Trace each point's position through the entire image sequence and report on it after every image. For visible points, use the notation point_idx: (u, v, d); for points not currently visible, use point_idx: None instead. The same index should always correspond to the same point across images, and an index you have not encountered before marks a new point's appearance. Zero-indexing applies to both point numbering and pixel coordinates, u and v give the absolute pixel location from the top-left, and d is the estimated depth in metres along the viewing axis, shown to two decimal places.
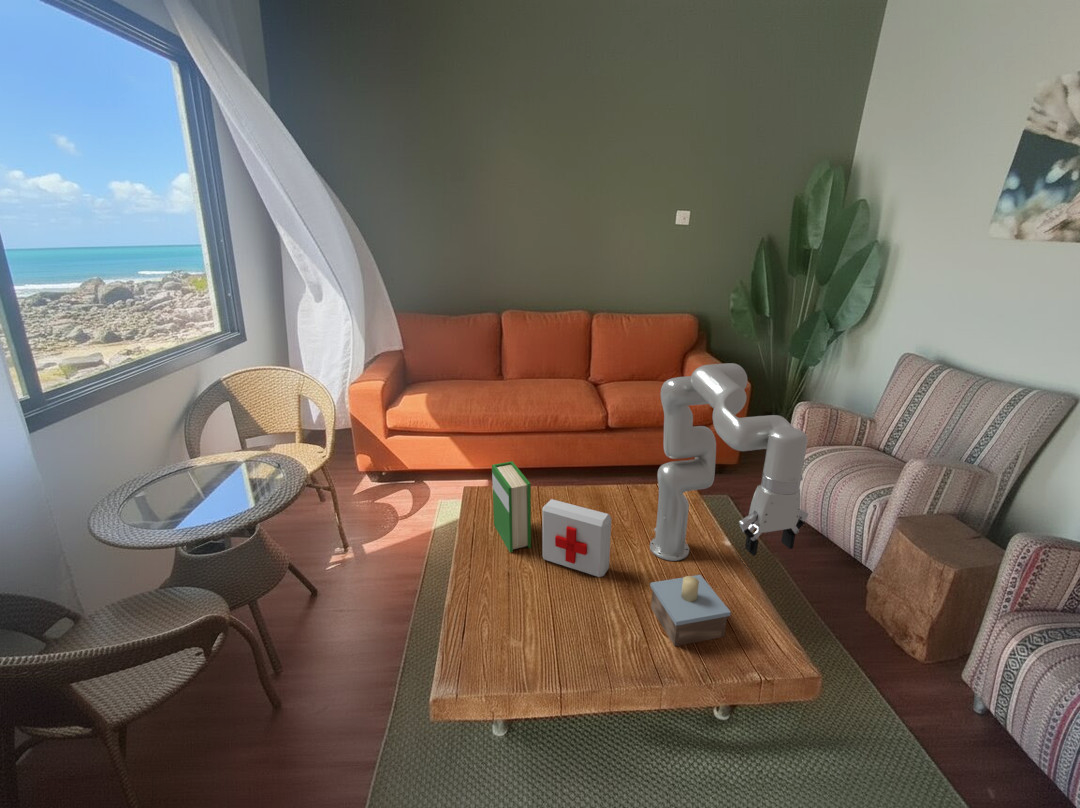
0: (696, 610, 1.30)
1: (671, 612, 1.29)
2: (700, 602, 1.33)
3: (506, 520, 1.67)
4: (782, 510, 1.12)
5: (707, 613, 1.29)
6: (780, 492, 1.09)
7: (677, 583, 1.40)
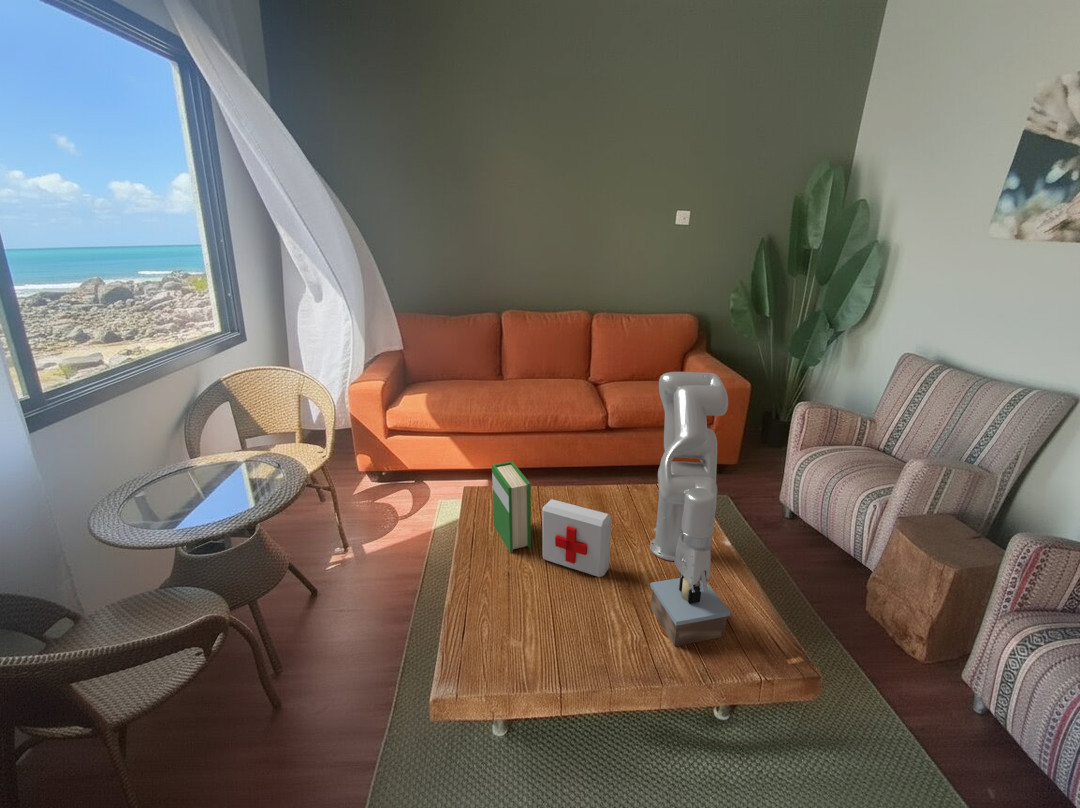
0: (696, 610, 1.30)
1: (671, 612, 1.29)
2: (700, 602, 1.33)
3: (506, 520, 1.67)
4: None
5: (707, 613, 1.29)
6: (711, 541, 1.27)
7: (677, 583, 1.40)
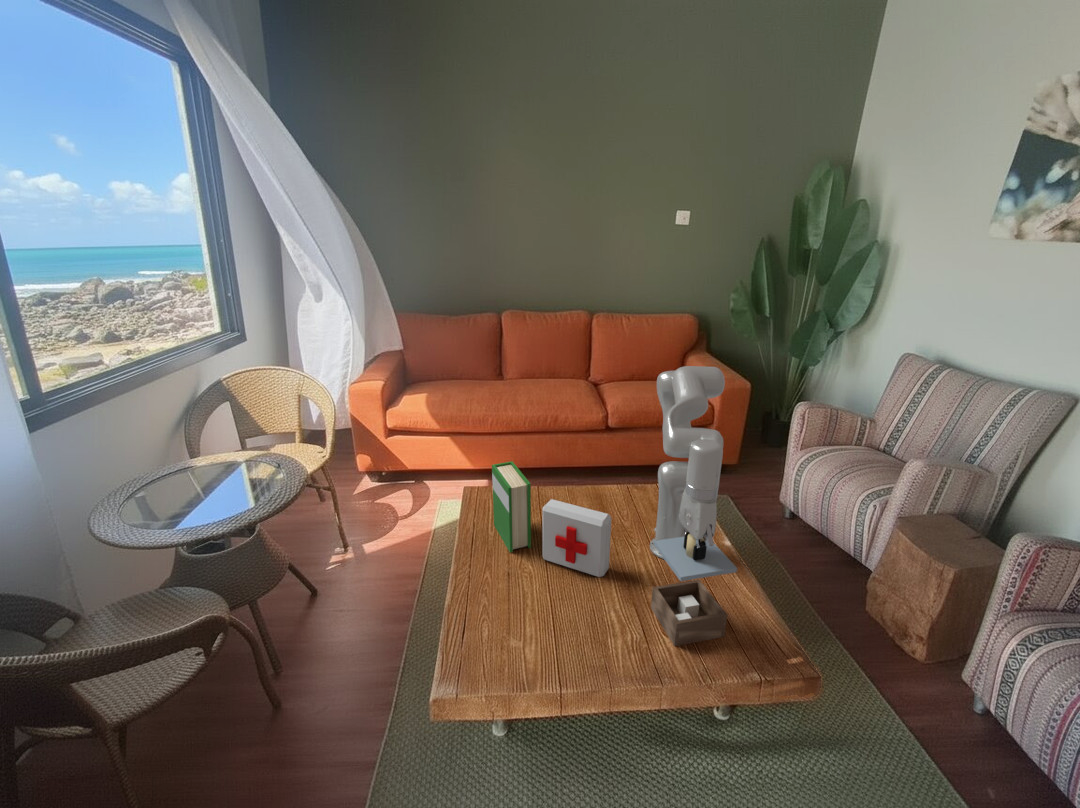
0: (702, 567, 1.26)
1: (675, 568, 1.25)
2: (706, 559, 1.29)
3: (506, 520, 1.67)
4: None
5: (713, 569, 1.25)
6: (717, 494, 1.23)
7: (681, 541, 1.36)
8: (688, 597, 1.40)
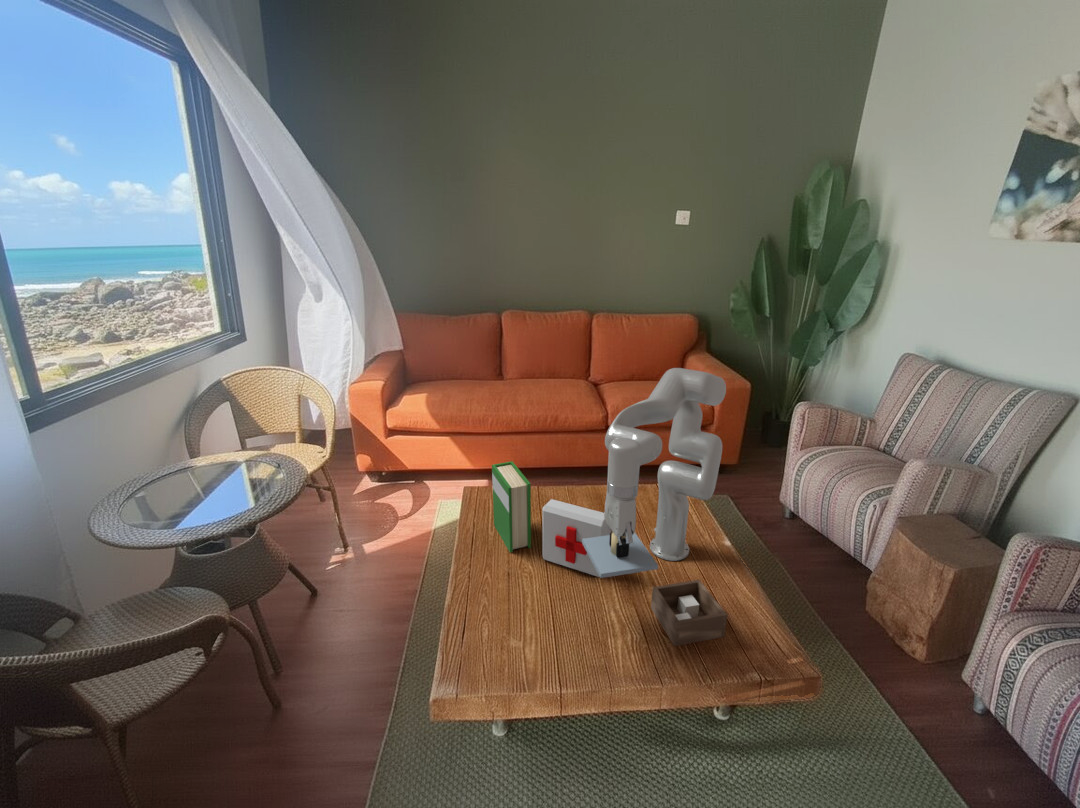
0: (623, 564, 1.27)
1: (597, 565, 1.27)
2: (629, 556, 1.30)
3: (506, 520, 1.67)
4: None
5: (634, 566, 1.26)
6: (637, 492, 1.25)
7: (609, 539, 1.37)
8: (688, 597, 1.40)
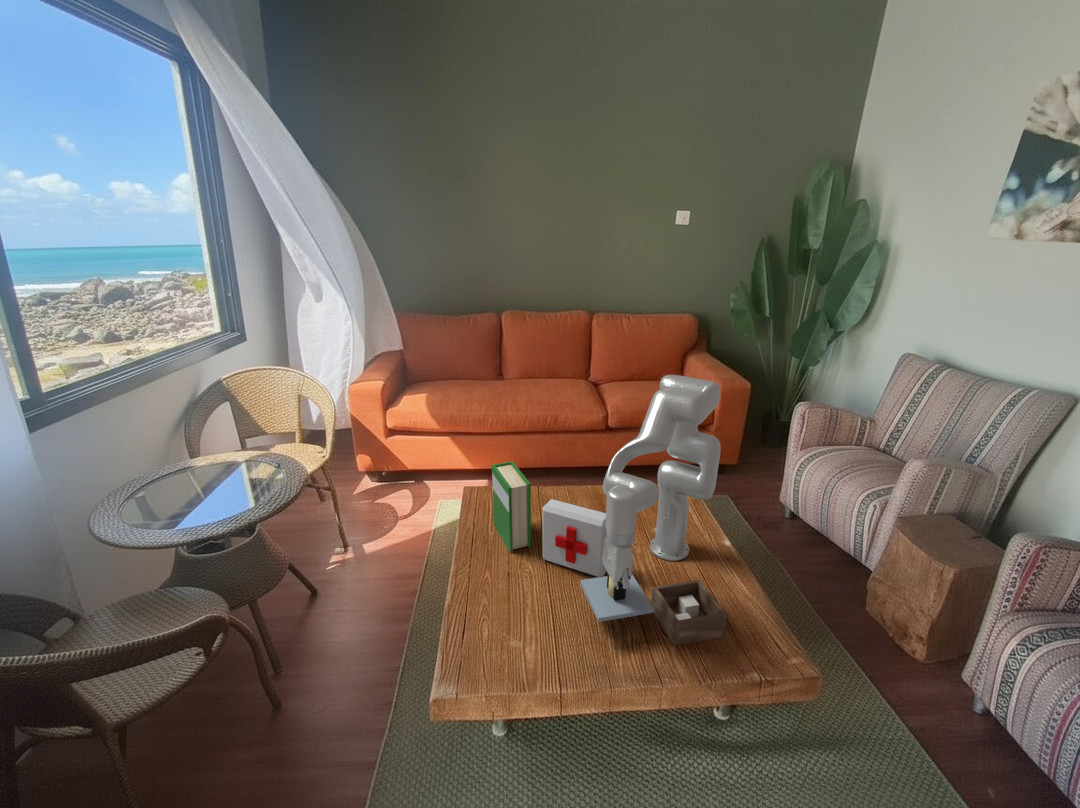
0: (620, 607, 1.31)
1: (595, 609, 1.31)
2: (626, 599, 1.34)
3: (506, 520, 1.67)
4: None
5: (630, 610, 1.31)
6: (633, 539, 1.29)
7: (606, 580, 1.41)
8: (688, 597, 1.40)
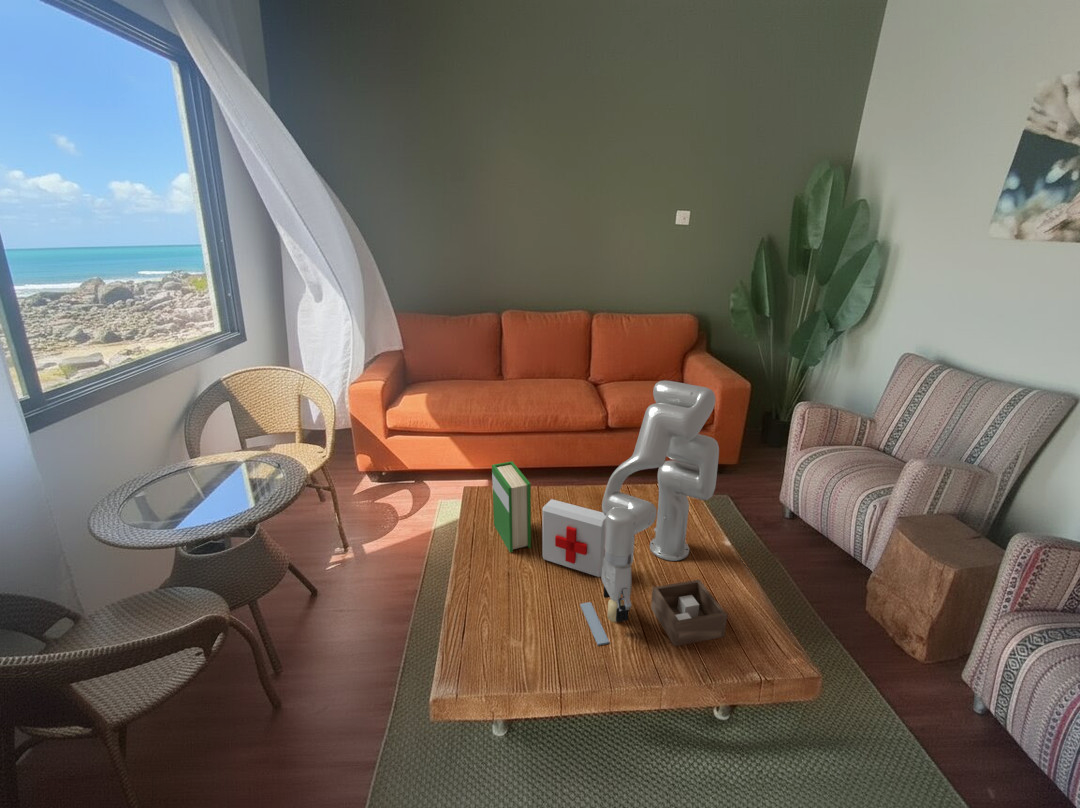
0: None
1: (594, 634, 1.34)
2: None
3: (506, 520, 1.67)
4: None
5: None
6: (632, 559, 1.31)
7: None
8: (688, 597, 1.40)
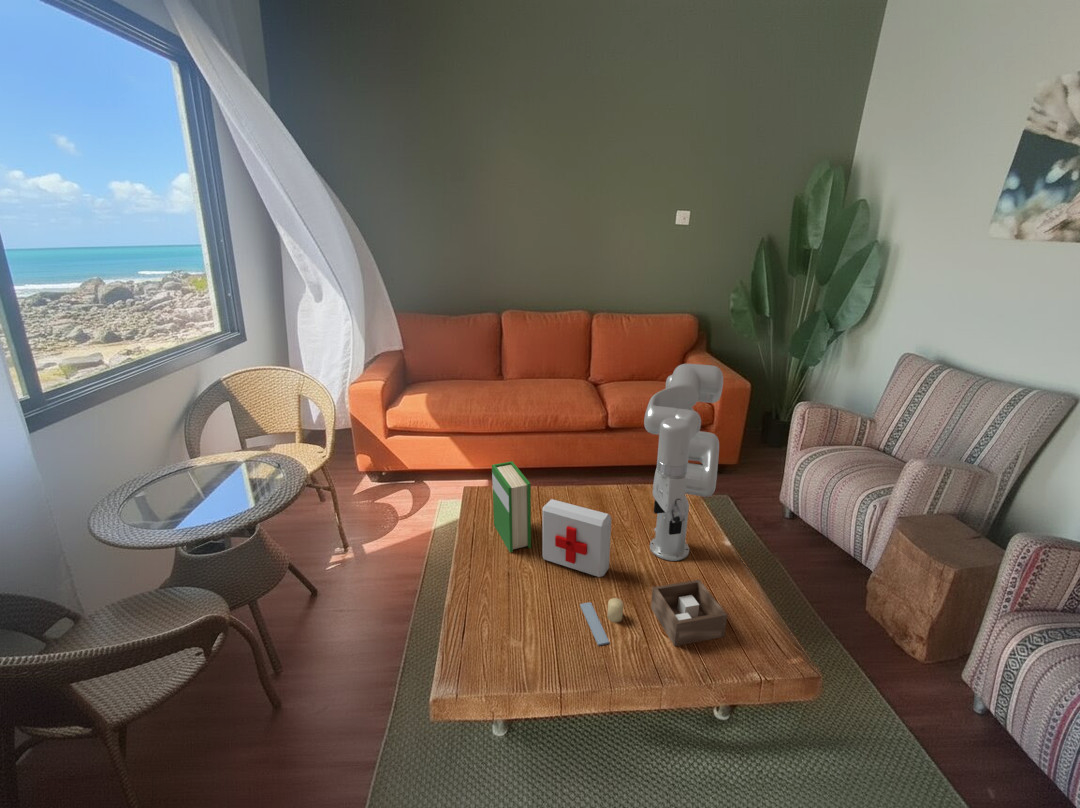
0: None
1: (595, 634, 1.34)
2: None
3: (506, 520, 1.67)
4: None
5: None
6: (686, 470, 1.29)
7: None
8: (688, 597, 1.40)
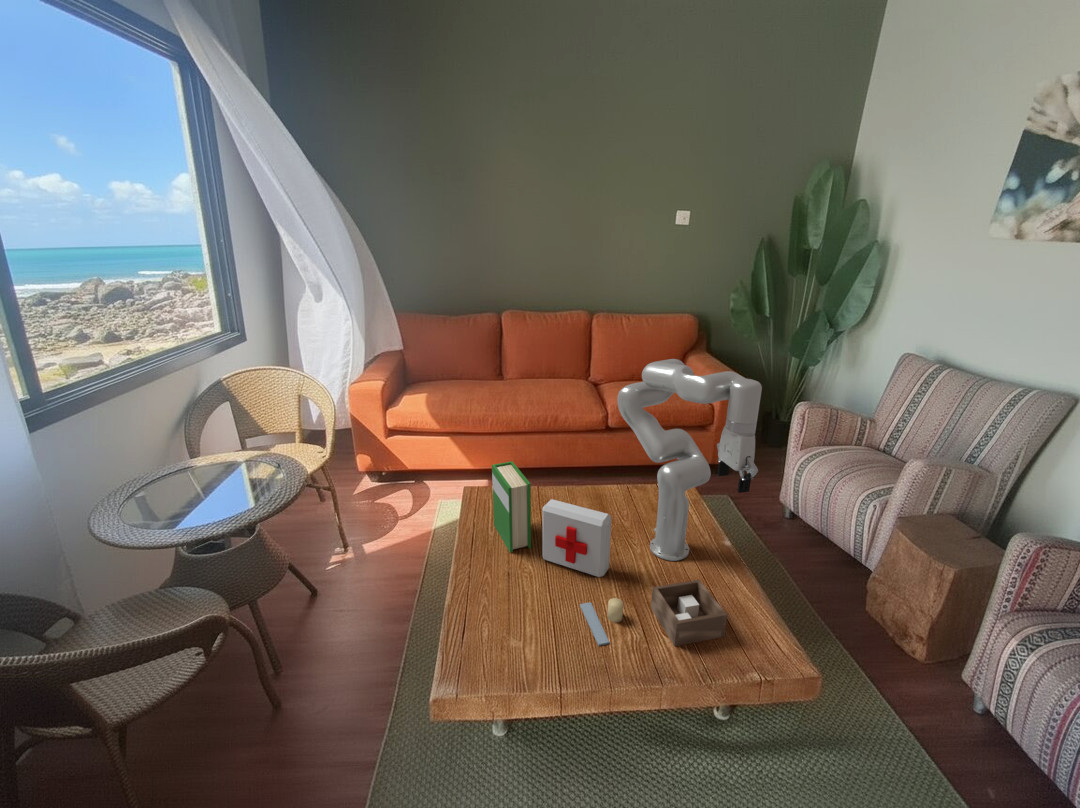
0: None
1: (595, 634, 1.34)
2: None
3: (506, 520, 1.67)
4: None
5: None
6: (755, 429, 1.34)
7: None
8: (688, 597, 1.40)
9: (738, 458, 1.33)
